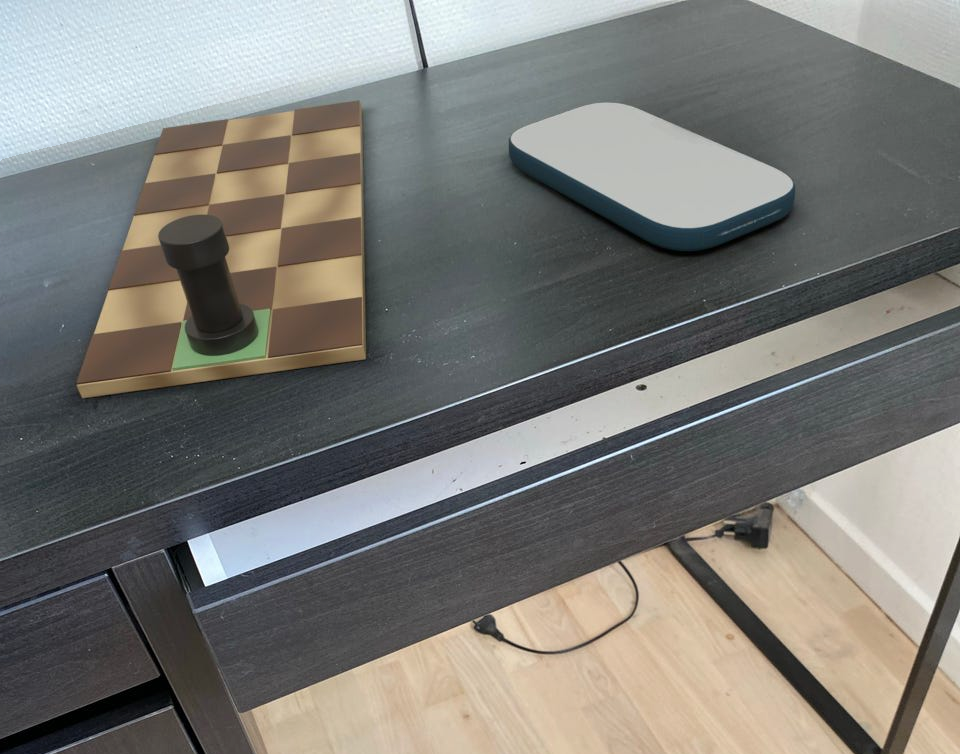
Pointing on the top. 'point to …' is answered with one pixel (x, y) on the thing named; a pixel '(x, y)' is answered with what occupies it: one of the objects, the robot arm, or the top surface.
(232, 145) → the chessboard
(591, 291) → the top surface
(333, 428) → the top surface
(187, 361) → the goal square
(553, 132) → the external hard drive
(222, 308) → the rook
